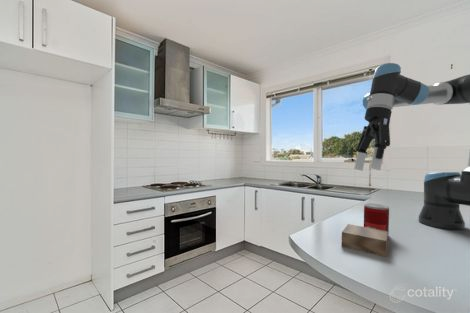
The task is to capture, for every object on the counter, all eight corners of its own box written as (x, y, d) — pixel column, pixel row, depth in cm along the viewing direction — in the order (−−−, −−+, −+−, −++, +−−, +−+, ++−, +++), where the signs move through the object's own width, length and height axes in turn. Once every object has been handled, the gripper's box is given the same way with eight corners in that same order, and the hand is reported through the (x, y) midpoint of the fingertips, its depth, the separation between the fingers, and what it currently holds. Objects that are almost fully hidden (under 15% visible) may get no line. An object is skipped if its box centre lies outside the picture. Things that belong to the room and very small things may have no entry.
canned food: (392, 239, 80) (393, 208, 80) (367, 237, 82) (368, 207, 82) (382, 232, 88) (383, 204, 88) (360, 230, 89) (361, 202, 89)
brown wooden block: (387, 246, 75) (388, 231, 74) (385, 257, 66) (386, 240, 66) (347, 237, 82) (348, 224, 82) (341, 247, 73) (341, 231, 73)
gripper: (354, 116, 90) (342, 167, 89) (385, 95, 65) (370, 165, 65) (374, 120, 89) (362, 172, 88) (413, 99, 64) (398, 171, 63)
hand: (365, 169), depth 76 cm, fingers open, 13 cm apart
